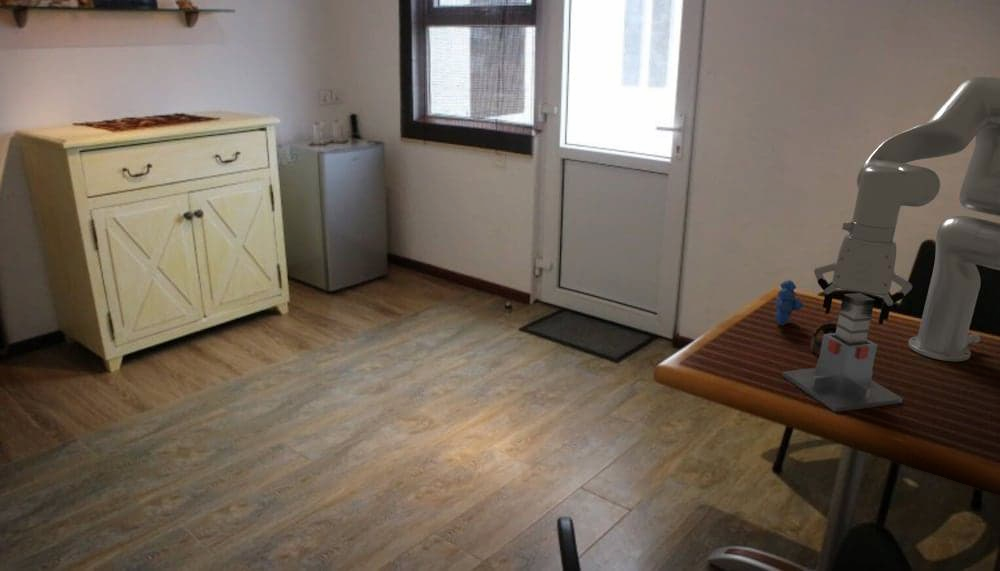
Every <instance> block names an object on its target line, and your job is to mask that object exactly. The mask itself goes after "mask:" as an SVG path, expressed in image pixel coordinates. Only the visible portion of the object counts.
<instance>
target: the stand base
mask: <svg viewBox="0 0 1000 571" xmlns="http://www.w3.org/2000/svg"><path fill="white" fill-rule="evenodd" d="M821 341H822V345H821V350H820V352H819V356H818V359H817V362H816V366H815V367H814V368H813V367H811V368H802V369H795V370H794V369H793V370H788V371H782V372H781V373H782V374H781V377H782V378H784V377H785V380H787V381H789V382H790V383H792V384H793V383H794V384H795V385H794V384H793V385H794V386H796V387H797V386H798V387H797V388H798V389H800V388H801V389H800V390H802V391H803V392H805V393H806V394H807V395H809V396H811V397H812V398H814V399H815V400H817V401H818V402H819V401H820V402H819V403H821V404H822V403H823V404H822V405H824V406H825V407H827V408H828V409H830V410H831V411H832V412H834V413H840V412H845V411H846V412H847V411H853V410H860V409H868V408H875V407H881V406H883V407H884V406H890V405H897V404H902V403H903V399H904V398H903V397H901V396H899V395H898V394H896V393H894V392H893V391H891V390H889V389H887V387H884V386H883V385H881V384H879V383H877V382H875V380H872V378H873V374H874V371H873V367H874V363H875V357H876V353H877V349H878V344H877V343H875V342H873V341H871V340H869V339H866V344H863V345H854V346H848V345H846V344H844V343H842V342H841V341H839V340H837V339H835V333H830V334H823V336H822V340H821Z"/></svg>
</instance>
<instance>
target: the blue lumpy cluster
mask: <svg viewBox="0 0 1000 571" xmlns="http://www.w3.org/2000/svg"><path fill="white" fill-rule="evenodd" d="M780 287H781V289H780V290H779V291H778V292H777V294H778V295H777V296H778V297H777V298H776V299H775V300H774V302H775V304H774V306H775V308H776V309H777V312H776V313H774V317H775V318H774V319H775V321H776V322H777V324H778V325H779V326H785V325H786V324H788V323H789V322H790V320H789V319H790V318H792V315H791V314H792V313H793V312H794V311H799V310H802V308H803V307H804V306H805V305H804V304H803V302H802V300H801V299H799V298H796V296H797V294H796V292H795V289H797V286H796V283H795V282H793V280H789V279H788V280H785V281H783V282H782V283H781V284H780Z"/></svg>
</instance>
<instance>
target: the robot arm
mask: <svg viewBox="0 0 1000 571" xmlns="http://www.w3.org/2000/svg"><path fill="white" fill-rule="evenodd" d="M974 138H975V145H974V150H973V152H972V155H971V159H970V160H969V161H970V162H969V164H968V167H967V170H966V173H965V175H964V179H963V180H962V181H963V182H962V184H961V187H960V191H959V197H958V200H959V203H960V205H961V206H962V207H963V208H965V209H968V210H970V211H973V212H976V213H981V214H985V215H991V216H996V217H1000V77H991V76H975V77H970V78H968V79H967V80H964V81H963V82H962V83H961V84H960V85H958V87H957V88H956V89H955V90H954V91H953V92H952V93H951V95H950V96H949V97H948V98H947V99H946V100H945V101H944V102H943V103H942V105H941V106H940V108H938V110H936V111H935V113H934V114H933V115H932V116H931V118H930V119H929V120H928V121H927V122H924V123H922V124H920V125H917V126H913V127H911V128H909V129H907V130H904V131H903V132H899V133H897V134H896V135H894V136H892V137H889V138H887V139H886V140H885V141H883V142H882V143H880V144H879V146H877V148H876V149H875V150H874V151H873V152H872V153H871V154H870V156H868V158H867V159H866V160H865V161H864V163H863V164H862V166H861V168H860V169H859V172H858V174H857V177H856V178H857V179H856V187H857V189H858V190H857V191H858V192H857V196H856V200H855V201H856V202H855V205H854V210H853V216H852V220H851V221H849V222H843V224H842V227H841V228H842V229H841V230H844V231H846V232H848V233H849V234H846V235H845V236H844V238H843V240H842V242H841V245H840V248H839V250H838V254H837V256H836V257H837V258H836V262H833V263H830V264H825V265H821V266H817V267H815V268H814V271H813V273H814V276H815V278H816V280H817V284H818V286H819V287H820V288H821V289H822V290H823V293H824V298H823V304H822V309H825V312H824V314H825V315H828V314H829V315H830V313H831V308H832V303H833V298H834V295H835V294H834V293H835V292H834V291H836V290H837V289H841V290H845V291H850V292H854V293H855V292H856V293H861V294H868V295H875V296H881V298H882V299H883V301H882V303H881V304H882V305H881V307H880V308H881V309H880V312H879V316H878V317H879V318H878V324H879V325H880V326H881V325H882V326H883V325H884V324H883V323H884V320H886V321H888V319H889V314H890V310H891V306H893V305H894V304H895V303H897V302H899V301H901V300H902V299H904V298H905V296H906V295H907V294H908V293H909V292H910V291H911V290H912V289H913V284H912V283H910V282H909V281H908V280H906V279H905V278H903V277H902V276H900V275H899V274H897V273H896V272H894V271H895V266H896V260H897V243H896V242H895V241H894V237H895V234H896V233H895V232H896V226H897V224H898V220H899V215H900V210H901V206H905V207H910V208H911V207H912V208H914V207H915V208H918V207H924V206H926V205H928V204H929V203H931V202H933V200H935V198H936V197H937V195H938V194H939V192H940V188H941V181H940V180H941V179H940V177H939V176H938V174H937V173H936V171H933V170H932V169H930V168H928V167H924V166H920V165H914V164H908V163H910V162H915V161H919V160H925V159H932V158H933V159H934V158H940V157H945V156H951V155H955V154H957V153H961V152H962V151H964V150H965V148H967V147H968V146H969V144H970V143H971V141H972V140H974ZM977 266H980V267H981V266H983V267H984V268H985V267H986V268H989V269H994V270H998V271H1000V223H999V222H995V221H991V220H988V219H982V218H978V217H972V216H966V215H954V216H950V217H947V218H946V219H944V220H943V221H942V222H941V223H940V225H939V226H938V229H937V230H936V237H935V256H934V265H933V270H932V275H931V278H930V283H929V286H928V292H927V296H926V299H925V304H924V307H923V308H924V309H923V313H922V317H921V321H920V323H919V324H920V325H919V328H918V334H917V335H915V336H912V337H910V338H909V339H908V345H907V346H908V347H909V348H910V349H911V350H912V351H914V352H915V353H917V354H919V355H922V356H924V357H928V358H931V359H934V360H938V361H944V362H964V361H967V360H969V359H970V357H971V353H972V352H971V350H970V348H968V345H970V344H972V343H979V342H980V341H981V336H980V335H979V334H978V333H972V334H971V333H970V334H969V331H970V326H971V323H972V319H973V315H974V312H975V307H976V304H977V299H978V296H979V292H980V288H981V281H982V280H981V275H980V272H979V270H978V267H977ZM830 272H833V275H832V281H831V282H828V281H827V279H825V277H824V274H826V273H827V274H828V273H830ZM893 283H895V284H897V285H898V286H900V287H901V288H900V289H899V290H898V291H896V292H895V293H891V292H890V290H891V288H892V287H891V286H892V284H893Z"/></svg>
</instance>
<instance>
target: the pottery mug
mask: <svg viewBox="0 0 1000 571" xmlns="http://www.w3.org/2000/svg"><path fill="white" fill-rule="evenodd" d="M837 323H838V321H833V320H831V319H828V320H825V321H824V322H823V323H822V324H820V325H817V326H816V327H815V328H814V330H813V332H812V338H811V342H810V350H811V353H815V352H819V353H820V350H821V345H822V340H821V339H819V338H818V337H817V335H818V334H819V333H820V332H822V333H823V335H824V334H830V333H836V328H837V326H836V324H837Z"/></svg>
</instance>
